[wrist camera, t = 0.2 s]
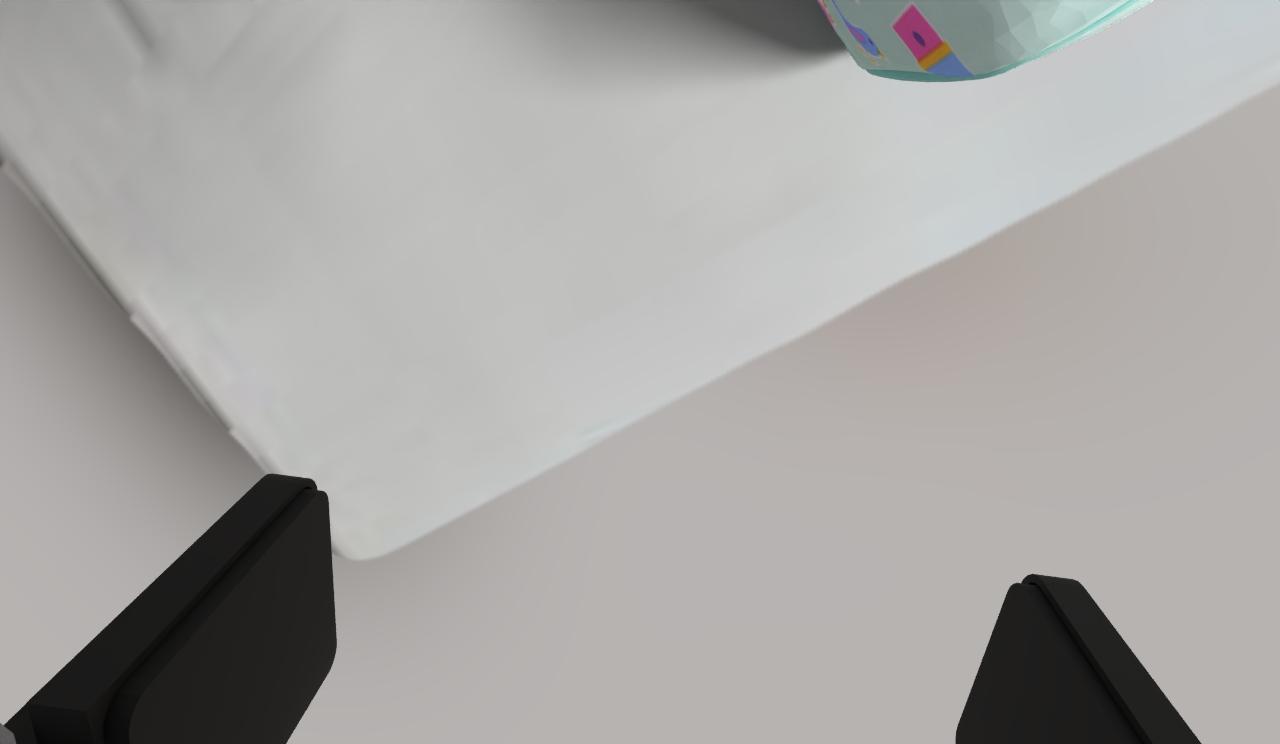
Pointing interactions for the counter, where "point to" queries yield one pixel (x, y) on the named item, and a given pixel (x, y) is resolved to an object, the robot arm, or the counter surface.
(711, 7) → the counter surface
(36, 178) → the counter surface
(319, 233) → the counter surface
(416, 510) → the counter surface
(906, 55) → the lunch box
